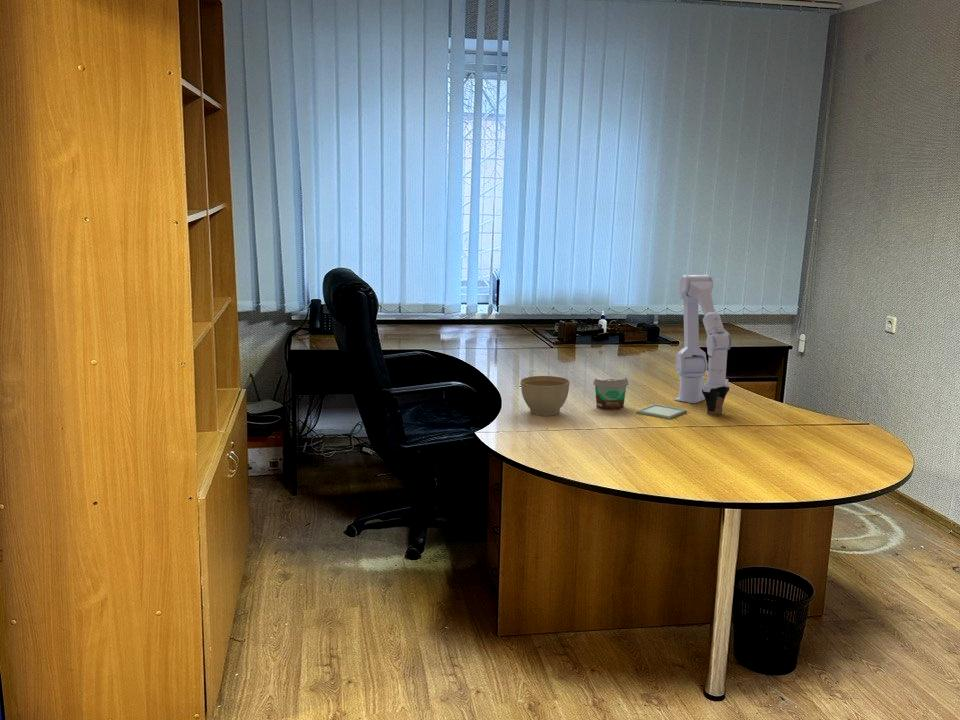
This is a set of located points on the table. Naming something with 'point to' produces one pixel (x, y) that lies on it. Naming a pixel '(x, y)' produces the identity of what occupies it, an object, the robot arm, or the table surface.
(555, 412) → the planter bowl
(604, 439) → the table surface
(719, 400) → the walnut cylinder
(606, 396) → the food container
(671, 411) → the coaster
